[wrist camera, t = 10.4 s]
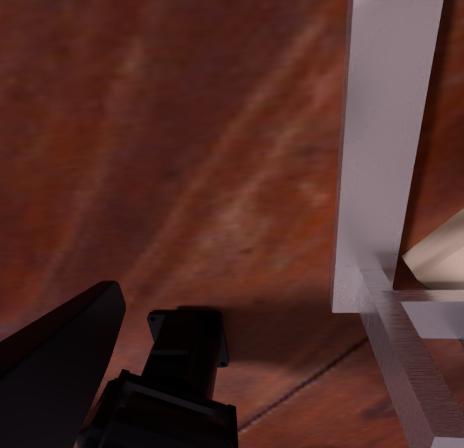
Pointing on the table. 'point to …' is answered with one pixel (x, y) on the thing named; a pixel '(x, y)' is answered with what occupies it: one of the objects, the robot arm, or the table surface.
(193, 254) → the table surface
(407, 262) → the rail
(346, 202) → the standards
